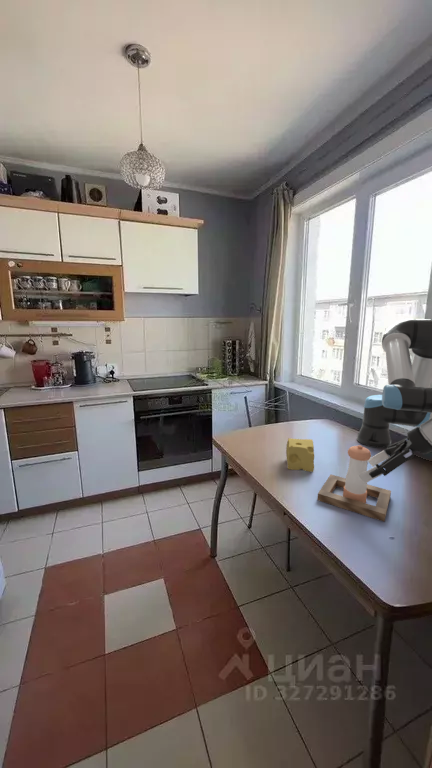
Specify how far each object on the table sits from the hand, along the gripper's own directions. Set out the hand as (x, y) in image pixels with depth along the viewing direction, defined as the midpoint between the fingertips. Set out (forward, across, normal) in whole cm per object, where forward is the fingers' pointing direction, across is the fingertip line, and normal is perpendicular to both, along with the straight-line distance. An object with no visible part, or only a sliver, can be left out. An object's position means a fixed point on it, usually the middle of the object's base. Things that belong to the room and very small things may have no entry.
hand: (366, 470), depth 102 cm
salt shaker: (+10, 0, -6) cm, 12 cm away
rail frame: (+10, 0, -6) cm, 11 cm away
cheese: (+27, +13, +11) cm, 32 cm away
